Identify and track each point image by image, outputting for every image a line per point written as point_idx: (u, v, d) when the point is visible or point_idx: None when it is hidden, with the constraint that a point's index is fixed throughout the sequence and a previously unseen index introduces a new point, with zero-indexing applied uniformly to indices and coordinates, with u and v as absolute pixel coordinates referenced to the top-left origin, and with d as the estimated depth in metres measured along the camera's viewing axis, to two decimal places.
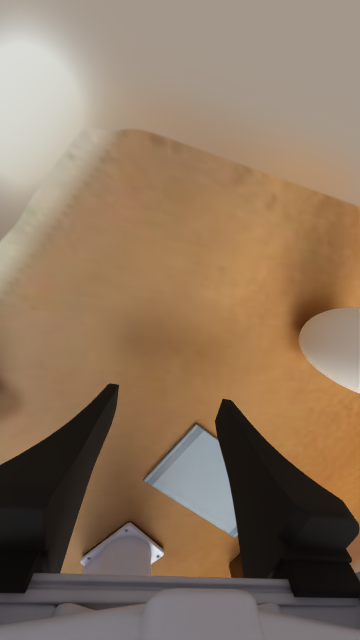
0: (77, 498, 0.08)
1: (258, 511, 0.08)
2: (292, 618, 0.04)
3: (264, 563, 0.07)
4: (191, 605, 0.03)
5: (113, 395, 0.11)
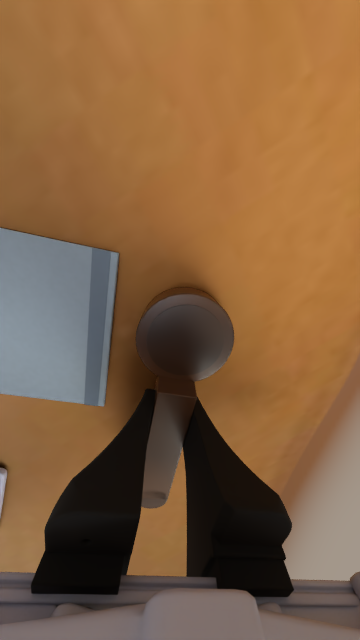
0: None
1: (200, 507, 0.07)
2: (292, 618, 0.04)
3: (200, 560, 0.07)
4: (191, 605, 0.03)
5: (154, 400, 0.11)
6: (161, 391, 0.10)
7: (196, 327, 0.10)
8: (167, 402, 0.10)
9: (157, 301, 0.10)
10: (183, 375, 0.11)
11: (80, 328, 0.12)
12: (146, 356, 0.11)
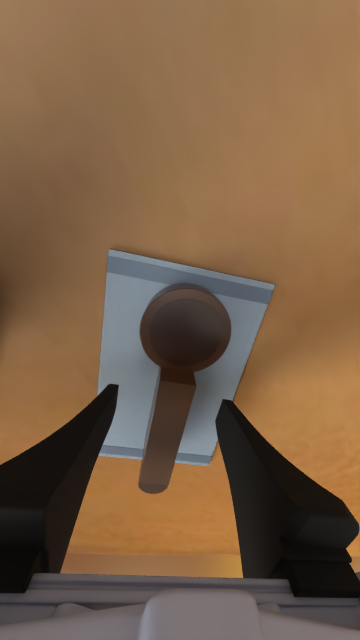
0: (77, 498, 0.08)
1: (258, 511, 0.08)
2: (292, 618, 0.04)
3: (264, 563, 0.07)
4: (191, 605, 0.03)
5: (113, 395, 0.11)
6: (163, 380, 0.11)
7: (196, 320, 0.11)
8: (168, 390, 0.11)
9: (159, 295, 0.11)
10: (184, 366, 0.12)
11: None
12: (149, 348, 0.11)
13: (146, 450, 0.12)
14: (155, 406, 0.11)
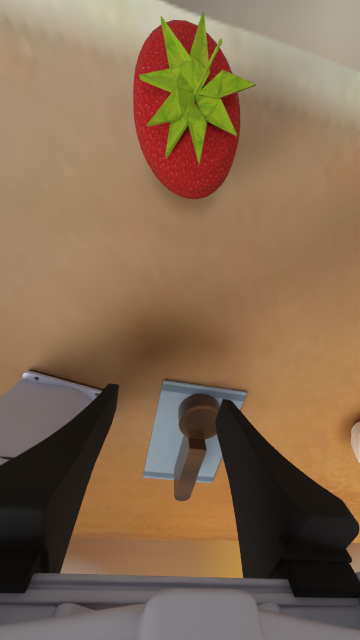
0: (77, 498, 0.08)
1: (258, 511, 0.08)
2: (292, 618, 0.04)
3: (264, 563, 0.07)
4: (191, 605, 0.03)
5: (113, 395, 0.11)
6: (191, 447, 0.22)
7: (206, 417, 0.23)
8: (193, 452, 0.22)
9: (189, 408, 0.22)
10: (200, 437, 0.23)
11: None
12: (183, 429, 0.23)
13: (180, 479, 0.24)
14: (186, 459, 0.23)
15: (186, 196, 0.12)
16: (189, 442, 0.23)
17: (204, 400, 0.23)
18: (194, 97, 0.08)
